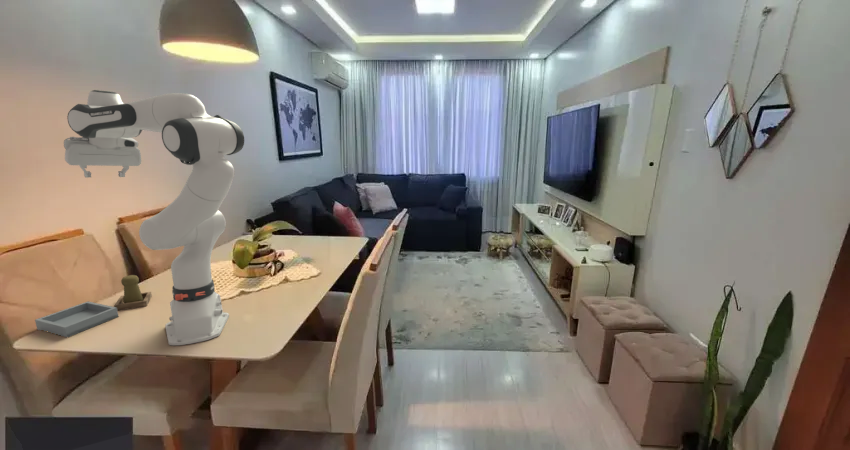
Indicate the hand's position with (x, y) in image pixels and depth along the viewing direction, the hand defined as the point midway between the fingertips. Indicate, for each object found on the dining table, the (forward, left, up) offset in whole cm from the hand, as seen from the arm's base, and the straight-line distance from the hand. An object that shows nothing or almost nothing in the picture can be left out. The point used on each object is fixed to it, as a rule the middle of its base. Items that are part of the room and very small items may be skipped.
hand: (105, 176), depth 131 cm
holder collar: (-2, -2, -48) cm, 48 cm away
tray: (-13, +11, -48) cm, 51 cm away
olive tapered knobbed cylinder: (-2, -2, -48) cm, 48 cm away
